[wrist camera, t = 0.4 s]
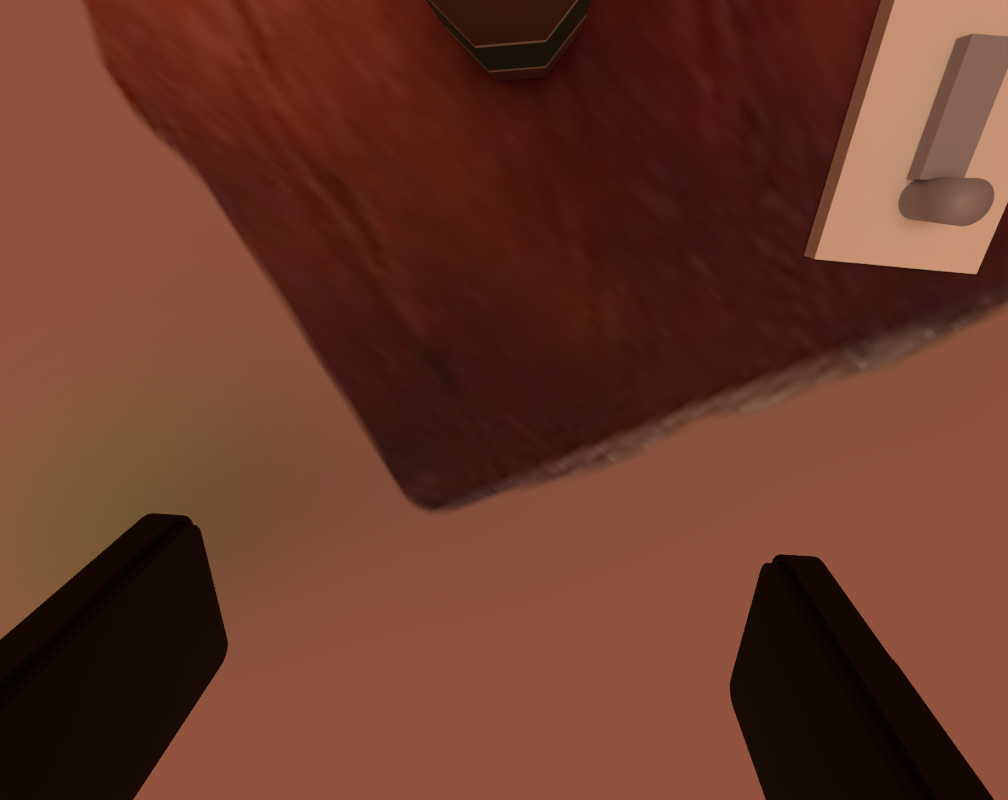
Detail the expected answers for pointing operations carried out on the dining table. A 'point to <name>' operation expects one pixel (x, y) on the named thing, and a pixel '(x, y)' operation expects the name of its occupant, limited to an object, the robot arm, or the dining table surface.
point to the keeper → (922, 141)
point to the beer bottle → (513, 33)
